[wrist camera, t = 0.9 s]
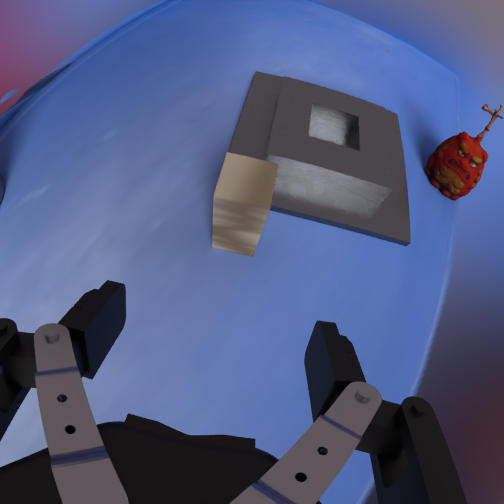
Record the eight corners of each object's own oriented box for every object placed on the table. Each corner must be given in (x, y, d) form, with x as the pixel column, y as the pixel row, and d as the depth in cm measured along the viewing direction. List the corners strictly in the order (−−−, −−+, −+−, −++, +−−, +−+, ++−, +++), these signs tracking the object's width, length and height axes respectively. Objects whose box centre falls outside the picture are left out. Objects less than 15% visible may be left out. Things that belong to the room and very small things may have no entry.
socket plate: (215, 197, 32) (216, 175, 28) (255, 76, 41) (259, 55, 37) (406, 246, 33) (424, 231, 29) (394, 118, 42) (405, 100, 38)
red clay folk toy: (417, 177, 38) (480, 105, 24) (428, 151, 40) (481, 84, 26) (456, 211, 37) (526, 151, 23) (464, 182, 39) (523, 124, 25)
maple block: (212, 247, 30) (213, 195, 21) (221, 211, 32) (227, 152, 23) (252, 256, 30) (270, 208, 22) (260, 220, 32) (278, 163, 23)
